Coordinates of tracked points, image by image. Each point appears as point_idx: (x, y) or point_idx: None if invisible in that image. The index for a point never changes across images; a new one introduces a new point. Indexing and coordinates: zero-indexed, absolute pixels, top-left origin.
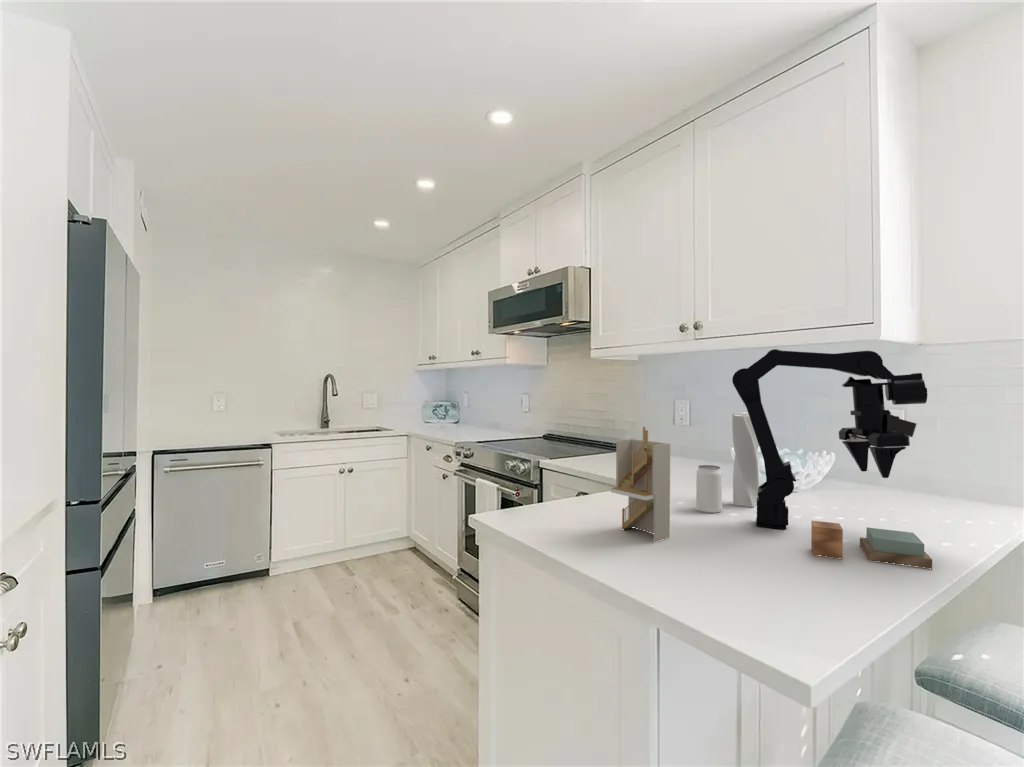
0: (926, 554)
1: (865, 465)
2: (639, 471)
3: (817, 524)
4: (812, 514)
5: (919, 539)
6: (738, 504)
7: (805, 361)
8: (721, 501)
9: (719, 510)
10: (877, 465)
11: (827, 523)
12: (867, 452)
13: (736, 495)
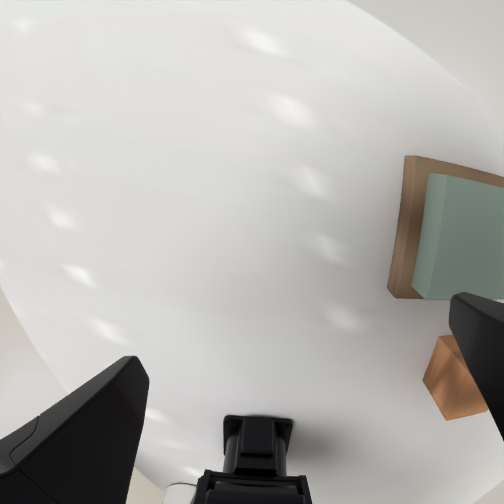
0: (491, 176)
1: (121, 390)
2: None
3: (474, 408)
4: (84, 336)
5: (500, 188)
6: None
7: None
8: (186, 500)
9: None
10: (500, 407)
11: (469, 394)
12: (42, 454)
13: None
